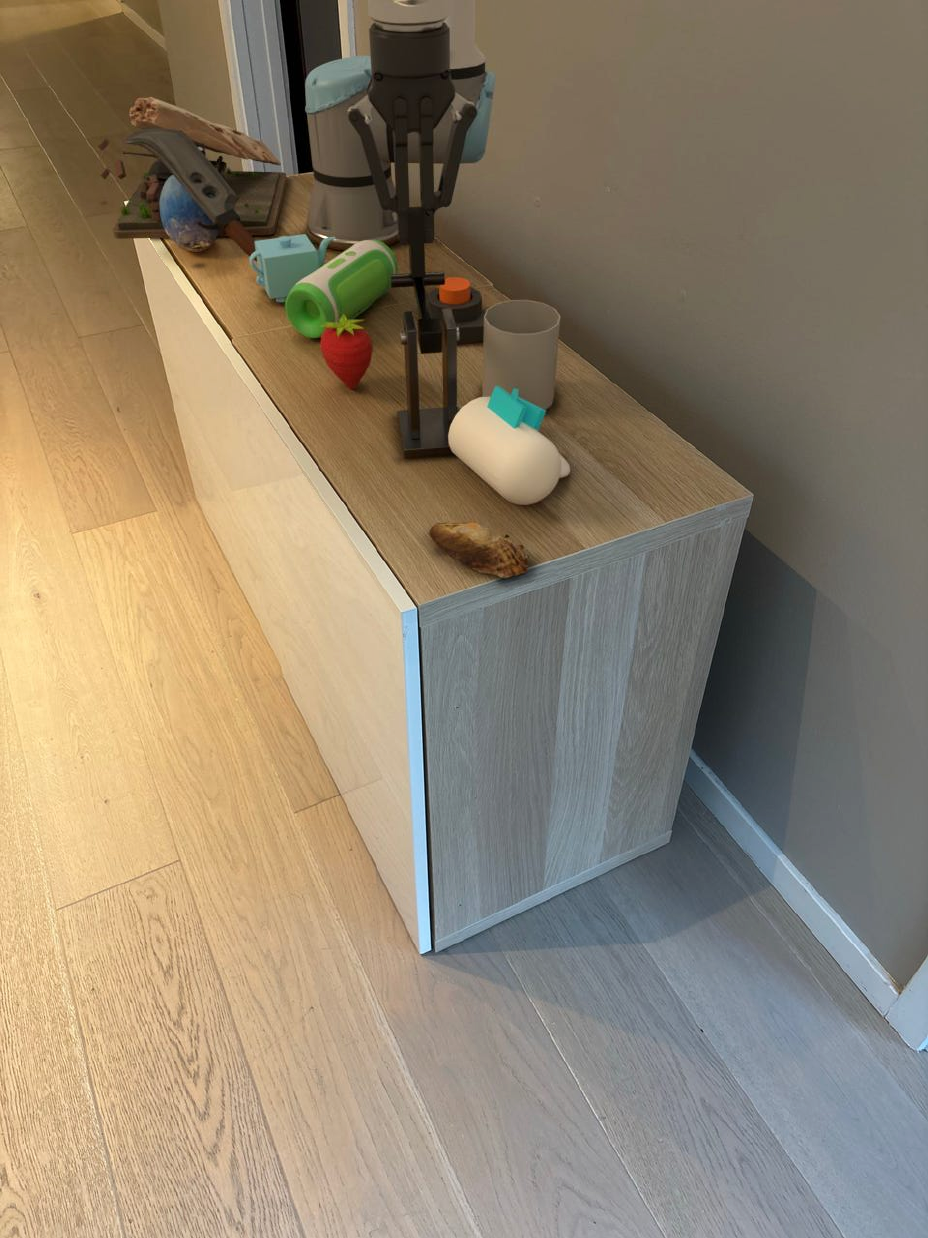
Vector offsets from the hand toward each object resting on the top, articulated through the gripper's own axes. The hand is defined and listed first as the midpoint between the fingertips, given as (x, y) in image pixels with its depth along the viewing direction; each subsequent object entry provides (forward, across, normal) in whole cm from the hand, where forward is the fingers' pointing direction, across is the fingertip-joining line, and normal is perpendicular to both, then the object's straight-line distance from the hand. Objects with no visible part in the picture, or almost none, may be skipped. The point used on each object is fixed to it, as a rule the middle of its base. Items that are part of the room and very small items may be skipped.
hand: (417, 271), depth 102 cm
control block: (+14, +6, +14) cm, 21 cm away
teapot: (+14, -14, +27) cm, 33 cm away
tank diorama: (+14, -31, +61) cm, 70 cm away
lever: (+3, 0, -6) cm, 7 cm away
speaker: (+14, -8, +19) cm, 25 cm away
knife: (+13, -17, +30) cm, 37 cm away
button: (+10, +6, +14) cm, 19 cm away
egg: (+14, -28, +38) cm, 49 cm away
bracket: (+14, 0, -12) cm, 18 cm away
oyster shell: (+12, 0, -28) cm, 30 cm away
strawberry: (+14, -8, 0) cm, 16 cm away
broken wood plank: (+7, -26, +64) cm, 70 cm away
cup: (+14, +11, -5) cm, 18 cm away
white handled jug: (+14, +8, -21) cm, 27 cm away
